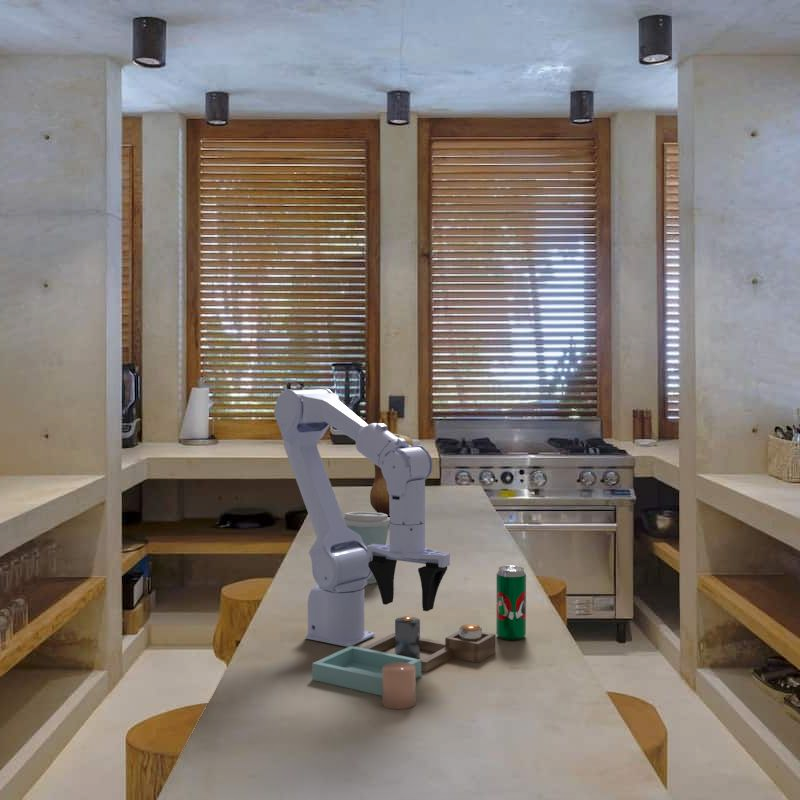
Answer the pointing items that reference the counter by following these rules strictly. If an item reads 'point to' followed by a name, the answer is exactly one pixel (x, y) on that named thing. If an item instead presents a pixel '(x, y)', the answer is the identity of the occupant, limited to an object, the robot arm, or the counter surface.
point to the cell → (407, 637)
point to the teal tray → (358, 668)
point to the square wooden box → (471, 647)
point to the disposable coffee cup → (369, 529)
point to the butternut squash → (382, 487)
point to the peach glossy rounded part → (398, 685)
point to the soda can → (511, 603)
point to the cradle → (425, 644)
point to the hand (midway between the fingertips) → (407, 606)
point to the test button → (470, 632)
